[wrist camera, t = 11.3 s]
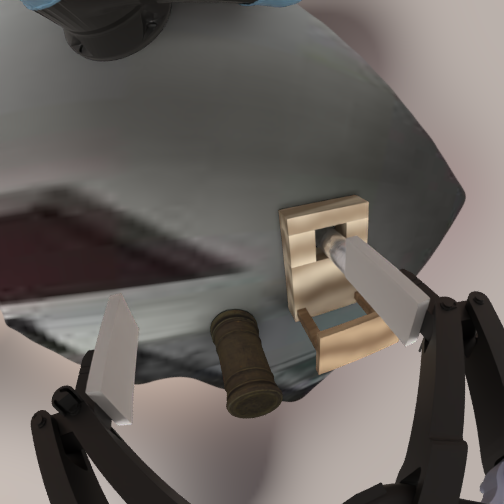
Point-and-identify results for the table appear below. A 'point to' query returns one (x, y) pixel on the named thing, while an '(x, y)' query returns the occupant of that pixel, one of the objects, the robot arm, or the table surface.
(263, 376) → the container
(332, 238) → the peg
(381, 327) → the socket station
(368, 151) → the table surface
